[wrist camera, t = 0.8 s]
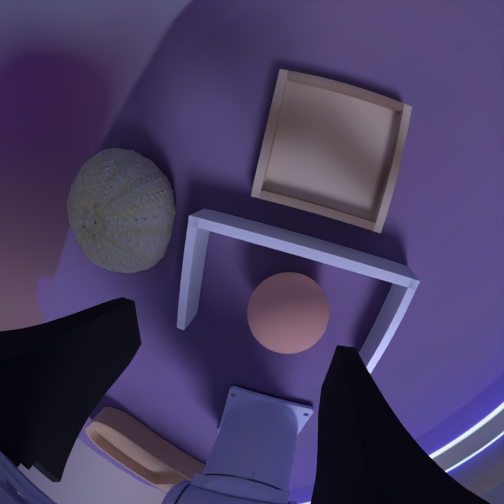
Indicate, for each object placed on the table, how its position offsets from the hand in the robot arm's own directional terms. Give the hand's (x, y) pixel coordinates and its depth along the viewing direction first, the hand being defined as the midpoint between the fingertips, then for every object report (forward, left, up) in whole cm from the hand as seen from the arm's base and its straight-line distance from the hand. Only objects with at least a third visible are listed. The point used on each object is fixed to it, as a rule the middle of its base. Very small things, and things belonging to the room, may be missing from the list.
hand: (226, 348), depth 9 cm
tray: (+8, -2, -10) cm, 13 cm away
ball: (-2, -2, -10) cm, 10 cm away
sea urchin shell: (+1, +11, -10) cm, 15 cm away
